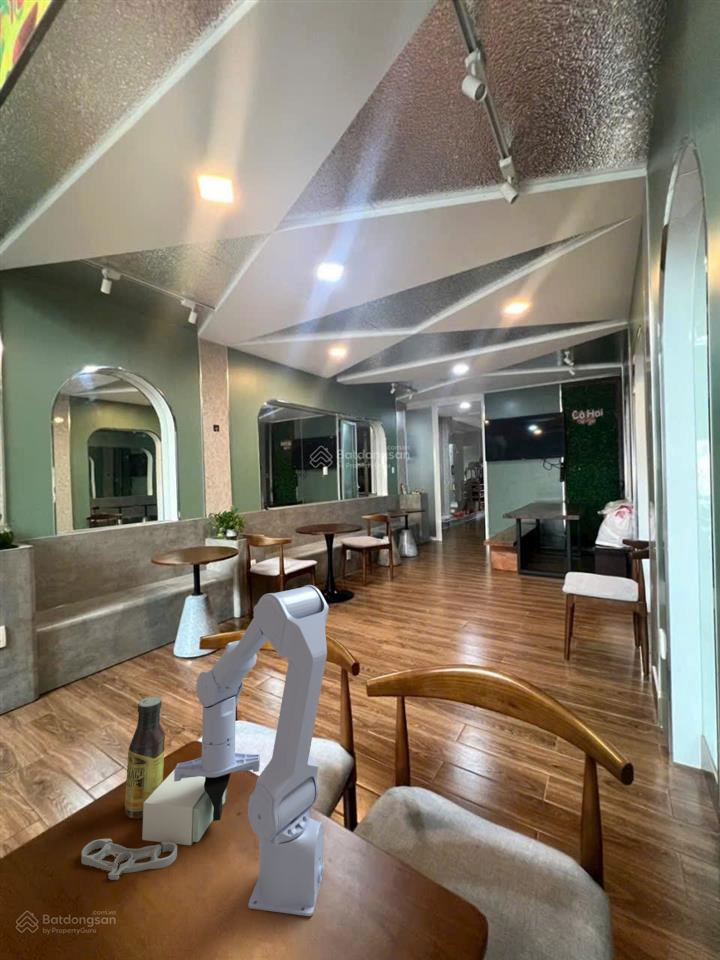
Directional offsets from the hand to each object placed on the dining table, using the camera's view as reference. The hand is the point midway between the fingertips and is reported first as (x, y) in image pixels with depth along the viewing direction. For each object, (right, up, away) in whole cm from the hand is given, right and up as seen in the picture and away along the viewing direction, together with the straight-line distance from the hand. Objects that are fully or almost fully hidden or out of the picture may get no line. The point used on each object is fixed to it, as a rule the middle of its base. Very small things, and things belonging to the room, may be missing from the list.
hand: (217, 816), depth 69 cm
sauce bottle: (-16, -3, +4) cm, 16 cm away
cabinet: (-7, -2, +2) cm, 8 cm away
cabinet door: (-2, -2, +2) cm, 3 cm away
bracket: (-12, -2, -6) cm, 14 cm away
